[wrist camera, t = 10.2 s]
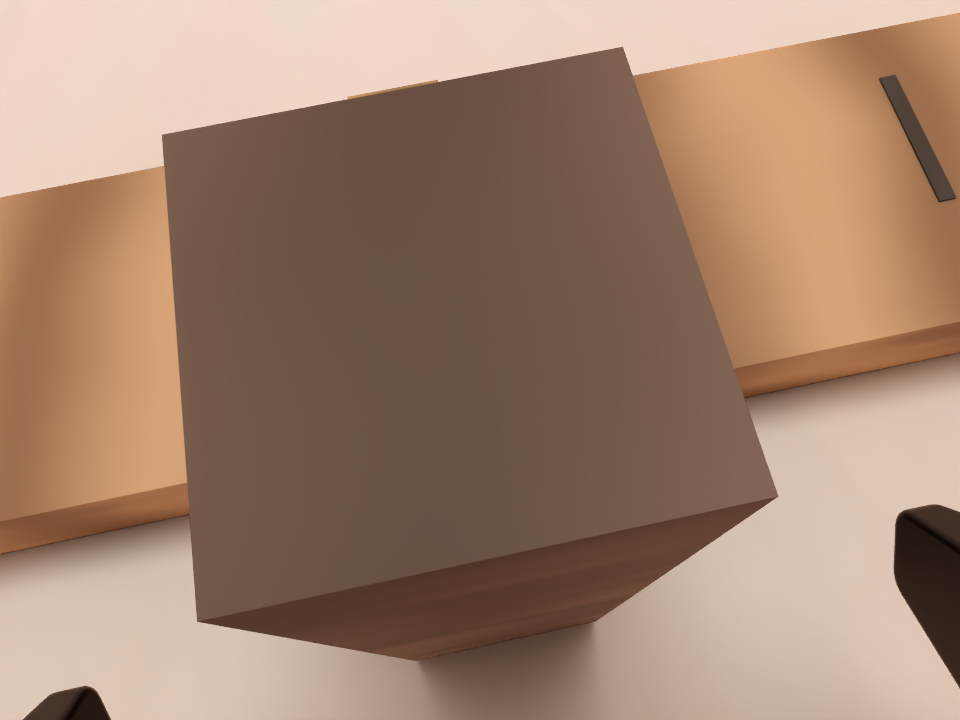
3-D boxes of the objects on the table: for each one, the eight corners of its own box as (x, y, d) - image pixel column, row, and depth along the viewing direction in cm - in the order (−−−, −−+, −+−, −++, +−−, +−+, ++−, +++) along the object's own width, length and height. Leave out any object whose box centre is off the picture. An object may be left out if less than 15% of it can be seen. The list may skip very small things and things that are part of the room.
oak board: (1230, 18, 23) (1311, -57, 21) (1401, 259, 20) (1520, 203, 18) (-29, 264, 22) (-95, 214, 19) (-39, 561, 19) (-119, 545, 17)
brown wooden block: (487, 182, 22) (456, -434, 10) (595, 620, 18) (778, 496, 6) (340, 211, 22) (124, -379, 10) (415, 660, 17) (196, 622, 5)
